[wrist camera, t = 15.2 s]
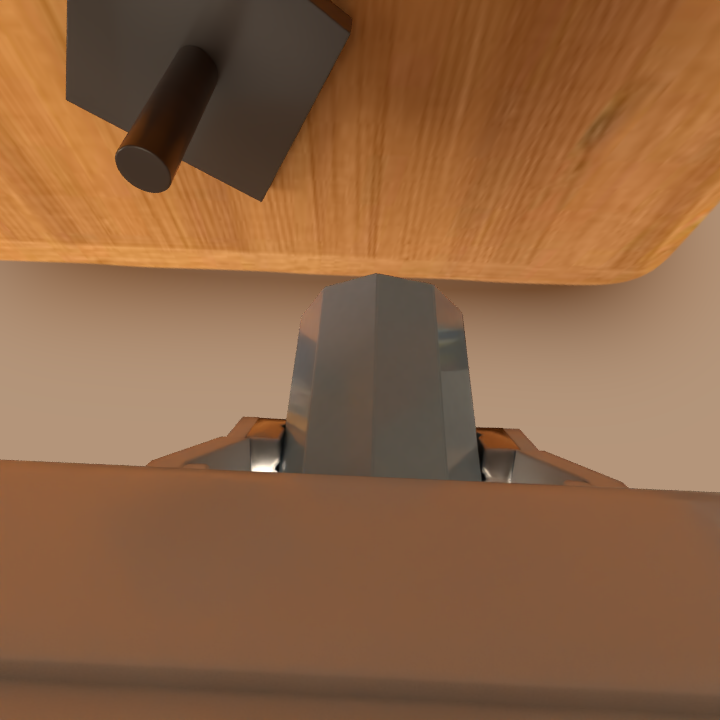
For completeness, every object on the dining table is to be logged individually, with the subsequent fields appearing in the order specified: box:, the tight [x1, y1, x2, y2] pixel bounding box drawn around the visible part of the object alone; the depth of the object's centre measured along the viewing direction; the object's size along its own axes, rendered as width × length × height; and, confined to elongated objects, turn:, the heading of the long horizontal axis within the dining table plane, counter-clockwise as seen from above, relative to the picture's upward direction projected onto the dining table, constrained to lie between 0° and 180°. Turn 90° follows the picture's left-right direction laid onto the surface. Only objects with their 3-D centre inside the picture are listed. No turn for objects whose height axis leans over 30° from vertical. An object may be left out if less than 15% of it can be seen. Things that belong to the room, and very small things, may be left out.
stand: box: [66, 0, 352, 202], centre depth 18 cm, size 11×11×10 cm
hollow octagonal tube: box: [279, 273, 482, 482], centre depth 12 cm, size 5×6×7 cm
